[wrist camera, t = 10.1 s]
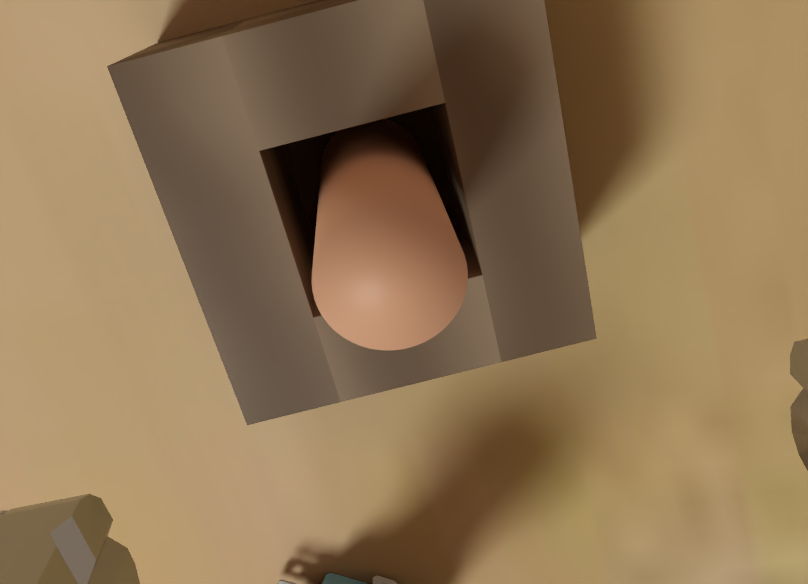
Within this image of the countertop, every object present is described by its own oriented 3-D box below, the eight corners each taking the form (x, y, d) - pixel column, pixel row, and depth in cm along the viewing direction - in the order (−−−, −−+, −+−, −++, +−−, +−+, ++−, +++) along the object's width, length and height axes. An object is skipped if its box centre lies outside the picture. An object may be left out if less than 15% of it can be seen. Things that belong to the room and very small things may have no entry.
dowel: (411, 106, 23) (451, 189, 15) (433, 205, 24) (481, 330, 16) (309, 132, 23) (291, 228, 15) (336, 228, 25) (335, 366, 16)
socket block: (495, -46, 22) (536, -47, 17) (551, 270, 26) (596, 338, 21) (156, 43, 22) (107, 66, 17) (264, 342, 26) (247, 425, 21)
